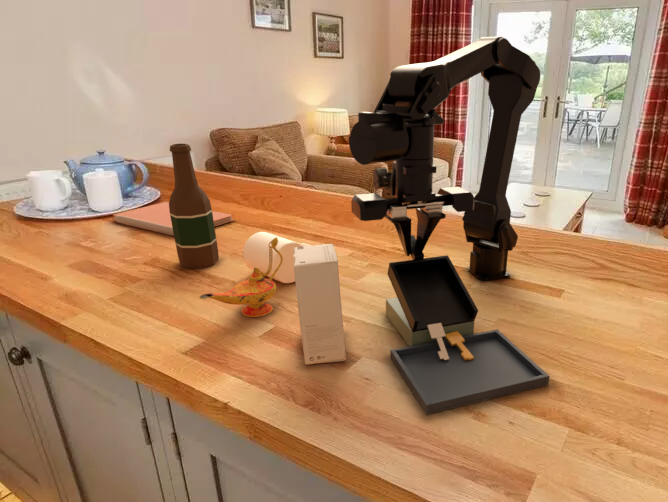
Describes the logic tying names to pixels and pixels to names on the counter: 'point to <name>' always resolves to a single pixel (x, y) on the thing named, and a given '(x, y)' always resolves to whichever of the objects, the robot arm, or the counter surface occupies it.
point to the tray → (466, 371)
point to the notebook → (159, 218)
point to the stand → (419, 337)
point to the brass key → (459, 344)
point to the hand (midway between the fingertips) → (413, 254)
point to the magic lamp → (252, 290)
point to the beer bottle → (191, 214)
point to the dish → (430, 291)
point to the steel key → (438, 339)
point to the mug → (259, 256)
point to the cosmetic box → (319, 303)
